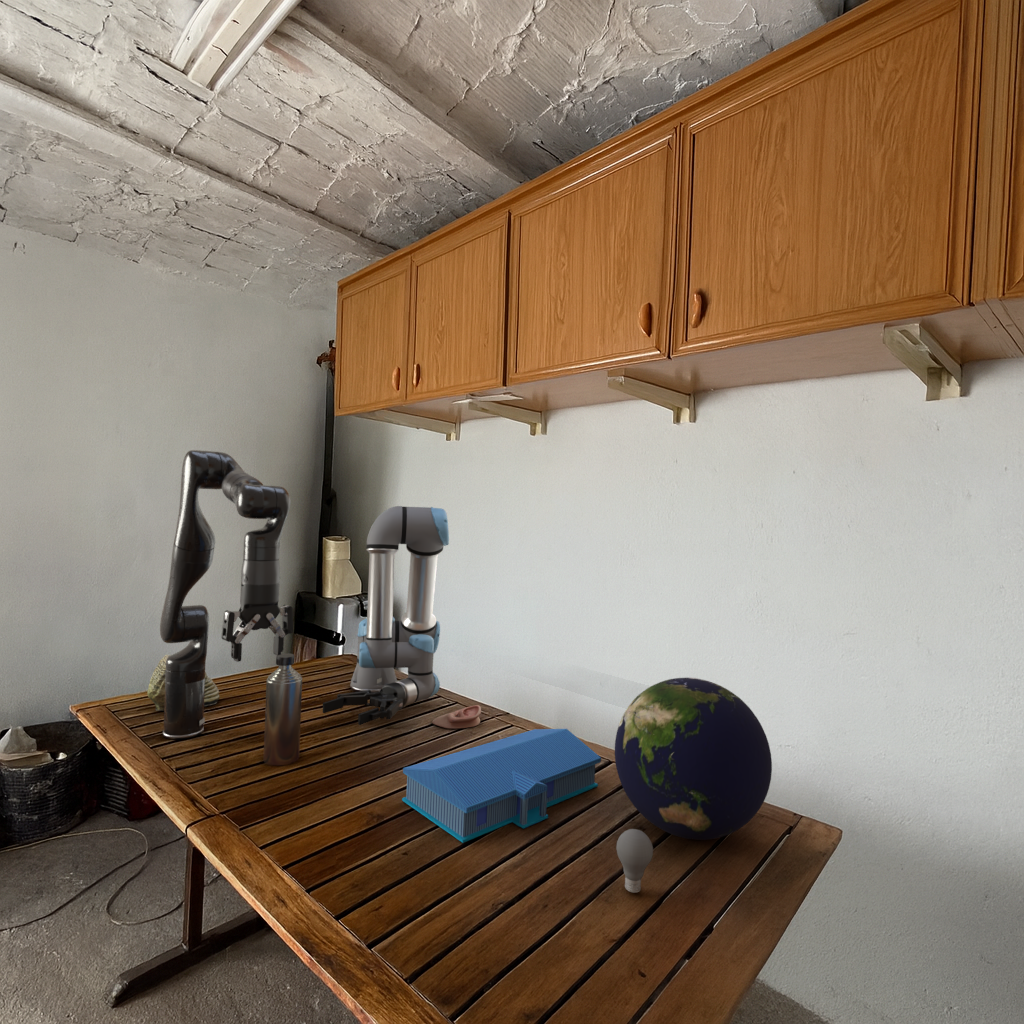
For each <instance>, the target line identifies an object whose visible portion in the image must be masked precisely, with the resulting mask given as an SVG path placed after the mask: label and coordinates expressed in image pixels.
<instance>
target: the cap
mask: <svg viewBox="0 0 1024 1024" xmlns="http://www.w3.org/2000/svg"><path fill="white" fill-rule="evenodd" d="M294 664H295V654H293V653H281V655H276V657H275V665H277V666H278V667H279V666H288V665H291V666H293V665H294Z"/></svg>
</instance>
